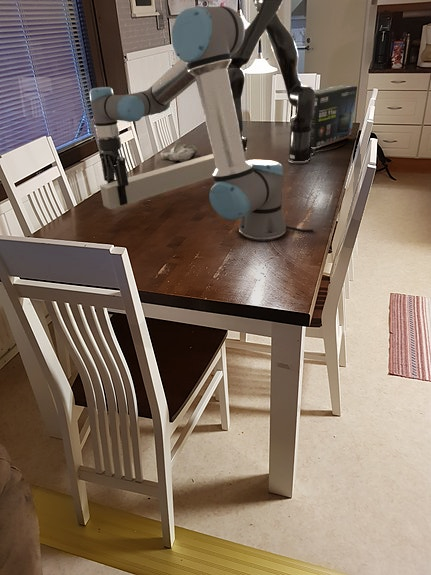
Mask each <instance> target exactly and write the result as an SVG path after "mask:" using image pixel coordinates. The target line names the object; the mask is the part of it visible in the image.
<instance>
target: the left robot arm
mask: <svg viewBox="0 0 431 575" xmlns="http://www.w3.org/2000/svg"><path fill="white" fill-rule="evenodd" d="M245 30H246V28H245V24H244V21H243V19H242V17H241V15H240V14H239V13H238V12H237V11H236V10H234V9H233V8H231V7H230V6H226V5H225V6H224V5H220V6H200V5H199V6H194V7H189V8H185V9H183V10H182V11H180V12H179V13H178V15H177V16H176V18H175V20H174V24H173V25H172V29H171V34H170V35H171V36H170V39H171V46H172V49H173V52H174V53H175V56H176V57H179V60H178V61H176V62H175V64H173V65H172V66H171V67H170V68H169V69H168V70H167V71H166V72H164V74H163V75H162V76H161V77H159V78H158V79H157V80H156V81H155V82H154V83H153V84H152V85H151V86H150V87H149V88H148V89H146V90H142V91H139V92H133V93H129V94H115V93H114V91H113V88H112V87H110V86H99V87H93V88H91V89H90V90H89V99H90V106H91V111H92V115H93V121H94V128H95V133H96V137H97V144H98V148H99V150H100V151H102V152H101V153H99V159H100V163H101V169H102V174H103V180H104V181H105V182H106V184H107V183H111V182H114V181H117V183H118V187H117V189H118V195H119V201H120V205H124V204H127V205H129V204H128V203H127V196H126V190H125V186H128V185H129V184H128V172H127V167H126V157H124V156H123V157H122V156H121V154H120V151H119V150H120V149H121V148H122V142H121V137H120V136H119V135H120V130H119V123H118V122H119V121H122V122H127V123H132V122H139V121H140V120H141V119H142V118H143V117H148V116H151V115H156V114H161V113H163V112H166V111H167V110H168V109H169V108H170V105H171V102H172V101H174V100H175V99H176V98H177V97H178V96H179V95H181V94H183V92H185V91H186V90H187V89H188V88H189V87H190V86H192V84H194V83H195V82H196V85H197V86H196V87H197V90H198V95H199V99H200V104H201V107H202V112H203V117H204V121H205V125H206V126H205V127H206V129H207V134H208V139H209V144H210V147H211V151H212V154H213V156H214V160H215V165H216V169H215V171H214V173H213V175H212V176H213V177H212V180H213V185H212V186H211V188H210V191H209V196H208V197H209V202H210V205H211V207H212V209H213V210H214V212H215V213H216V214H217V215H219V216H221V218H222V219H225V220H227V221H237V220H240V219H241V220H240V222H239V226H238V232H239V235H240V236H241V237H242V238H244V239H247V240H250V241H254V242H271V241H277V240H279V239H281V238H283V237H285V235H286V234H287V230H292V231H296V232H301V233H314V229H313V228H310V229H309V228H308V229H304V228H297V227H294V226H288V225H287V223H286V221H285V216H284V214H283V210H282V200H283V183H284V169H283V165H282V164H281V163H280V162H278V161H275V160H270V159H249V160H247V161H246V159H245V154H244V149H243V144H242V139H241V135H240V130H239V125H238V120H237V115H236V110H235V105H234V101H233V96H232V91H231V86H230V81H229V76H228V71H227V68H228V65H229V64H230V62H231V56H232V55H233V54H234V53H236V52H237V51H238V49H239V48H240V47H241V45H242V43H243V40H244V35H245ZM124 206H125V205H124Z"/></svg>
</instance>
